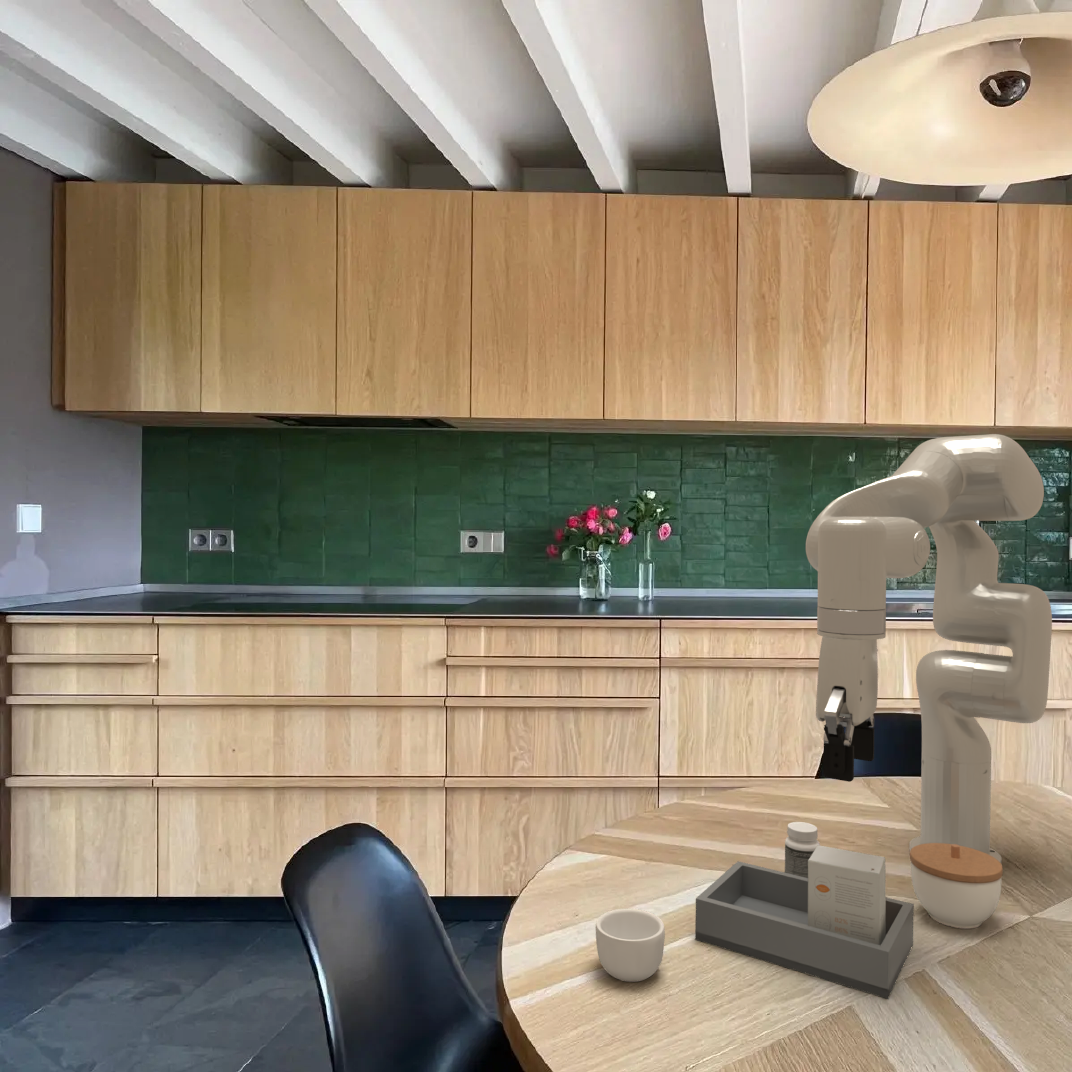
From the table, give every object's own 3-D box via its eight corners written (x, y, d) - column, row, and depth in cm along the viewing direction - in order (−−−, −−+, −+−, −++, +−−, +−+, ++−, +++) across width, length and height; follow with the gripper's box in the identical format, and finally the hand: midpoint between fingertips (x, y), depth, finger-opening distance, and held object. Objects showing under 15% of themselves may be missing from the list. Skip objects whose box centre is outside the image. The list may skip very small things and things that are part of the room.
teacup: (639, 999, 88) (639, 948, 88) (581, 973, 93) (581, 925, 93) (686, 962, 96) (687, 915, 96) (630, 940, 101) (631, 896, 101)
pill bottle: (822, 895, 114) (822, 834, 114) (786, 891, 115) (786, 831, 115) (817, 880, 118) (818, 822, 118) (783, 877, 119) (783, 819, 119)
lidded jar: (901, 922, 106) (902, 849, 106) (917, 892, 115) (917, 824, 115) (997, 946, 100) (998, 869, 100) (1005, 913, 109) (1006, 841, 109)
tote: (737, 897, 113) (737, 861, 113) (913, 945, 100) (913, 904, 100) (695, 939, 101) (695, 898, 101) (887, 998, 89) (888, 952, 89)
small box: (886, 945, 98) (887, 856, 98) (879, 967, 93) (881, 873, 93) (815, 928, 102) (816, 843, 102) (806, 948, 97) (807, 858, 97)
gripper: (837, 614, 107) (836, 747, 107) (796, 628, 92) (794, 781, 93) (900, 618, 102) (898, 757, 103) (867, 633, 88) (865, 794, 88)
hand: (849, 768), depth 98 cm, fingers open, 9 cm apart
